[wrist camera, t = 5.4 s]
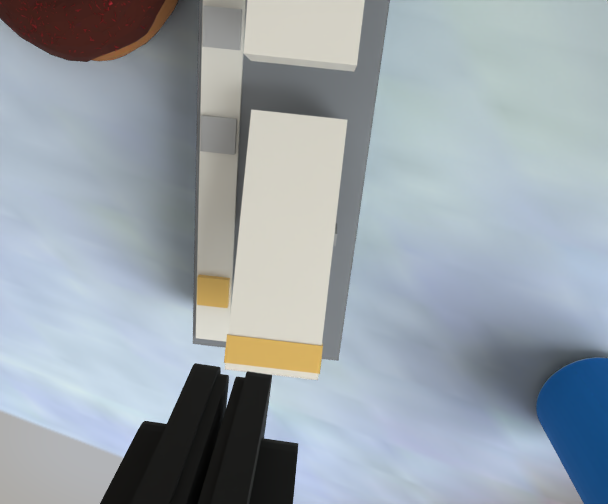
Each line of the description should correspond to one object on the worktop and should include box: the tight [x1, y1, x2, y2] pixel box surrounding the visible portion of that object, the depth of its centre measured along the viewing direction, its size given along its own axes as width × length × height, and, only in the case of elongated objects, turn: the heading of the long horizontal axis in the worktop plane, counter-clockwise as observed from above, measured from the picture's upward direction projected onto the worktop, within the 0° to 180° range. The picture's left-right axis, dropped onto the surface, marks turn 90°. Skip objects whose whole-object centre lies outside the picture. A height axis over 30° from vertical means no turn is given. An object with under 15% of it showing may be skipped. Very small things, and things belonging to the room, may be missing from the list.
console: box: [193, 0, 390, 360], centre depth 24 cm, size 8×27×6 cm, turn 174°
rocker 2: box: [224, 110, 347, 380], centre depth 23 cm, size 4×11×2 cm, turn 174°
